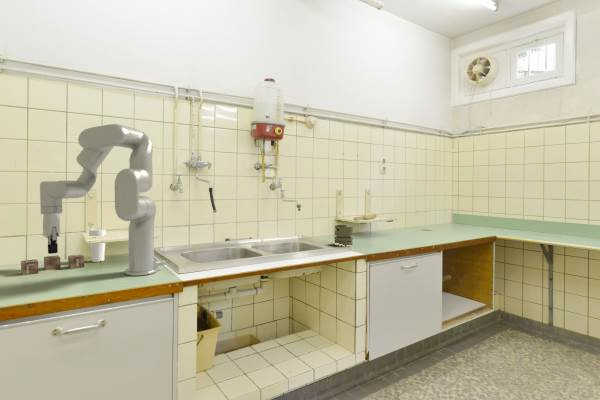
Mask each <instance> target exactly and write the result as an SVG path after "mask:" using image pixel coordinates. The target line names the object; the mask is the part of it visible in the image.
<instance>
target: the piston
mask: <svg viewBox="0 0 600 400" xmlns="http://www.w3.org/2000/svg"><path fill="white" fill-rule="evenodd" d="M353 229H354V227H353V225H352V226H347V225H346V224H335V225H334V237H333V238H334V241H333V242H335V243H339V244H343V245H352V246H353V235H354V234H353V233H354V232H353V231H354V230H353Z"/></svg>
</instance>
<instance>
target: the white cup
mask: <svg viewBox="0 0 600 400" xmlns="http://www.w3.org/2000/svg"><path fill="white" fill-rule="evenodd" d="M106 229H107V228H91V229H89V230H88V237H89V236H104V235H106V236H107V232H106V231H107V230H106ZM89 248H90V260H91V262H92V263H101V262H104V261H105V254H106V253H105V251H106V243H90V242H89ZM100 261H101V262H100Z"/></svg>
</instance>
